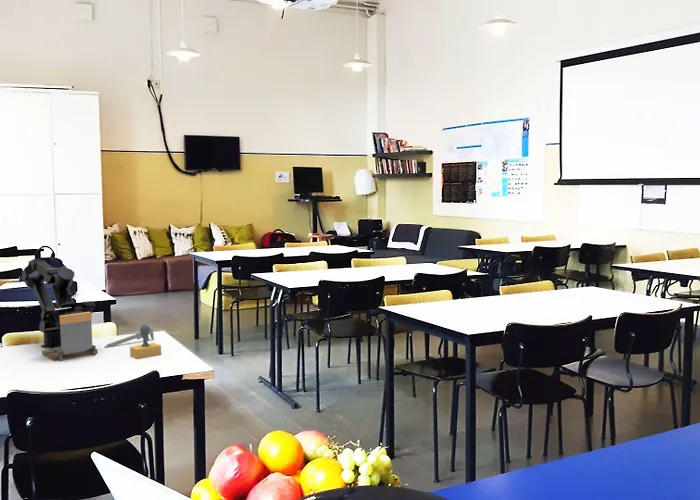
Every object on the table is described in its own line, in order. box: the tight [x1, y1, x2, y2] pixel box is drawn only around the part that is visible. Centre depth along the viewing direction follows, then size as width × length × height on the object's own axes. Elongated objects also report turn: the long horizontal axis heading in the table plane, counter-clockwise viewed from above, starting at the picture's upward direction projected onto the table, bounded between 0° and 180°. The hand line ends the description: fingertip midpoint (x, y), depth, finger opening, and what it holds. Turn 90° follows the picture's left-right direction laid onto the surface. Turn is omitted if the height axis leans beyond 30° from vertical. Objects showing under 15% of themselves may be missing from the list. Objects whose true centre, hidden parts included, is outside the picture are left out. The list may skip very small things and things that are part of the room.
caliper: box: [103, 325, 154, 349], centre depth 277 cm, size 20×1×6 cm, turn 131°
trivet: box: [41, 344, 98, 362], centre depth 261 cm, size 15×16×4 cm
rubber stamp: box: [129, 324, 162, 360], centre depth 259 cm, size 10×6×12 cm, turn 131°
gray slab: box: [59, 312, 93, 356], centre depth 255 cm, size 2×11×15 cm, turn 133°
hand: (75, 328), depth 256 cm, fingers open, 9 cm apart
